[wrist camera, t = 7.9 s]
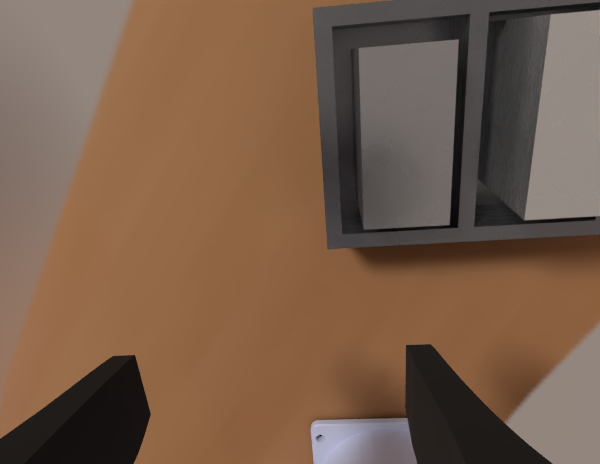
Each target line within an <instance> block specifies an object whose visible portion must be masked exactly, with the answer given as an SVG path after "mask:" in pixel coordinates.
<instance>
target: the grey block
mask: <svg viewBox="0 0 600 464" xmlns="http://www.w3.org/2000/svg"><path fill="white" fill-rule="evenodd" d="M477 179H478V180H479V181H480V182H482V183H483V184H484V185H485V186H486V187H487V188H488V189H489V190H491V191H492V192H493V193H494V194H495V195H496V196H497V197H499V198H500V199H501V200H502V201H503V202H504V203H505V204H506V205H508V206H509V207H510V208H511V209H512V210H513V211H514V212H516V213H517V214H518V215H519V216H520V217H521V218H522V219H523V220H538V219H555V218H573V217H591V216H600V10H595V11H584V12H572V13H561V14H550V15H542V16H533V17H525V18H516V19H508V20H500V21H491V22H488V36H487V50H486V65H485V79H484V93H483V107H482V121H481V135H480V149H479V163H478V177H477Z"/></svg>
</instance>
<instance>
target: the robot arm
mask: <svg viewBox="0 0 600 464" xmlns="http://www.w3.org/2000/svg"><path fill="white" fill-rule="evenodd" d="M405 408H406V414H407V418H382V419H342V420H317V421H314V422H313V423H312V424H311V439H312V449H313V460H314V464H552V463H551V462H549V461H548V460H547V459H545V458H544V457H543V456H542V455H541V454H539V453H538V452H537V451H536V450H534V449H533V448H532V447H531V446H529V445H528V444H527V443H526V442H525V441H524V440H523V439H521V438H520V437H519V436H518V435H517V434H516V433H515V432H514V431H512V430H511V429H510V428H509V427H508V426H507V425H506V424H505V423H504V422H503V421H502V420H501V419H499V418H498V417H497V416H496V415H495V414H494V413H493V412H492V411H491V410H490V409H489V408H488V407H487V406H486V405H485V404H484V403H483V402H482V401H481V400H480V399H479V398H478V397H477V396H476V395H475V394H474V393H473V391H472V390H471V389H470V388H469V387H468V386H467V385H466V384H465V383H464V382H463V381H462V380H461V379H460V377H459V376H458V375H457V374H456V373H455V372H454V371H453V370H452V368H451V367H450V366H449V365H448V364H447V363H446V361H445V360H444V359H443V358H442V357H441V355H440V354H439V353H438V352H437V351H436V349H435V348H434V347H433V346H432V345H430V344H426V345H406V402H405ZM150 415H151V414H150V410H149V406H148V402H147V399H146V395H145V391H144V387H143V384H142V380H141V376H140V372H139V368H138V365H137V361H136V357H135V355H128V356H113V357H111V358H110V359H108V360H107V361H105V362H104V363H102V364H101V365H100V366H98V367H97V368H96V369H94V370H93V371H92V372H90V373H89V374H88V375H86V376H85V377H84V378H82V379H81V380H80V381H79V382H77V383H76V384H75V385H73V386H72V387H71V388H69V389H68V390H67V391H65V392H64V393H63V394H62V395H60V396H59V397H58V398H56V399H55V400H54V401H52V402H51V403H50V404H48V405H47V406H46V407H44V408H43V409H42V410H40V411H39V412H37V413H36V414H35V415H33V416H32V417H30V418H29V419H28V420H26V421H25V422H23V423H22V424H21V425H19V426H18V427H16V428H15V429H14V430H12V431H11V432H9V433H8V434H7V435H5V436H4V437H2V438H1V439H0V464H134V461H135V459H136V457H137V455H138V452H139V450H140V447H141V444H142V441H143V438H144V435H145V432H146V428H147V425H148V422H149V418H150ZM318 435H323V436H318Z"/></svg>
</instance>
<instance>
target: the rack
mask: <svg viewBox="0 0 600 464" xmlns="http://www.w3.org/2000/svg"><path fill="white" fill-rule="evenodd" d="M595 10H600V0H392V1H382V2H371V3H361V4H350V5H339V6H329V7H318V8H313V21H314V37H315V53H316V69H317V85H318V102H319V118H320V134H321V150H322V166H323V182H324V198H325V214H326V231H327V247H328V249H339V248H358V247H376V246H395V245H414V244H433V243H451V242H470V241H489V240H507V239H526V238H545V237H564V236H582V235H600V216H591V217H573V218H555V219H538V220H523V219H522V218H521V217H520V216H519V215H518V214H517V213H516V212H514V211H513V210H512V209H511V208H510V207H509V206H508V205H506V204H505V203H504V202H503V201H502V200H501V199H500V198H499V197H497V196H496V195H495V194H494V193H493V192H492V191H491V190H489V189H488V188H487V187H486V186H485V185H484V184H483V183H482V182H480V181H479V180H478V179H477V177H478V163H479V149H480V135H481V121H482V107H483V93H484V79H485V65H486V50H487V36H488V22H491V21H500V20H508V19H516V18H525V17H533V16H542V15H550V14H561V13H572V12H584V11H595Z"/></svg>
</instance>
